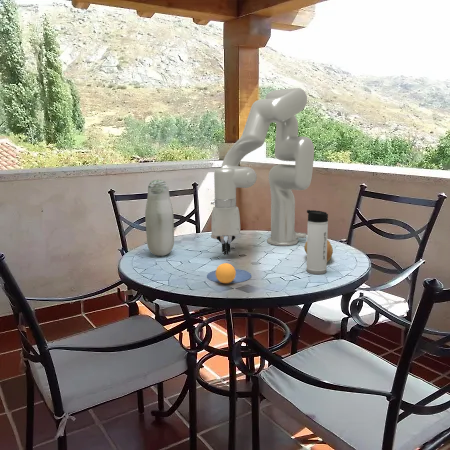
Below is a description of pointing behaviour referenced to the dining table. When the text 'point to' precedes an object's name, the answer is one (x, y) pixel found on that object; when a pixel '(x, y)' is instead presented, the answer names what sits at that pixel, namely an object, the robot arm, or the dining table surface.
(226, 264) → the ball
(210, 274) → the disc
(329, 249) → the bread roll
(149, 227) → the grey beige bottle
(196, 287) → the dining table surface
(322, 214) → the travel mug
